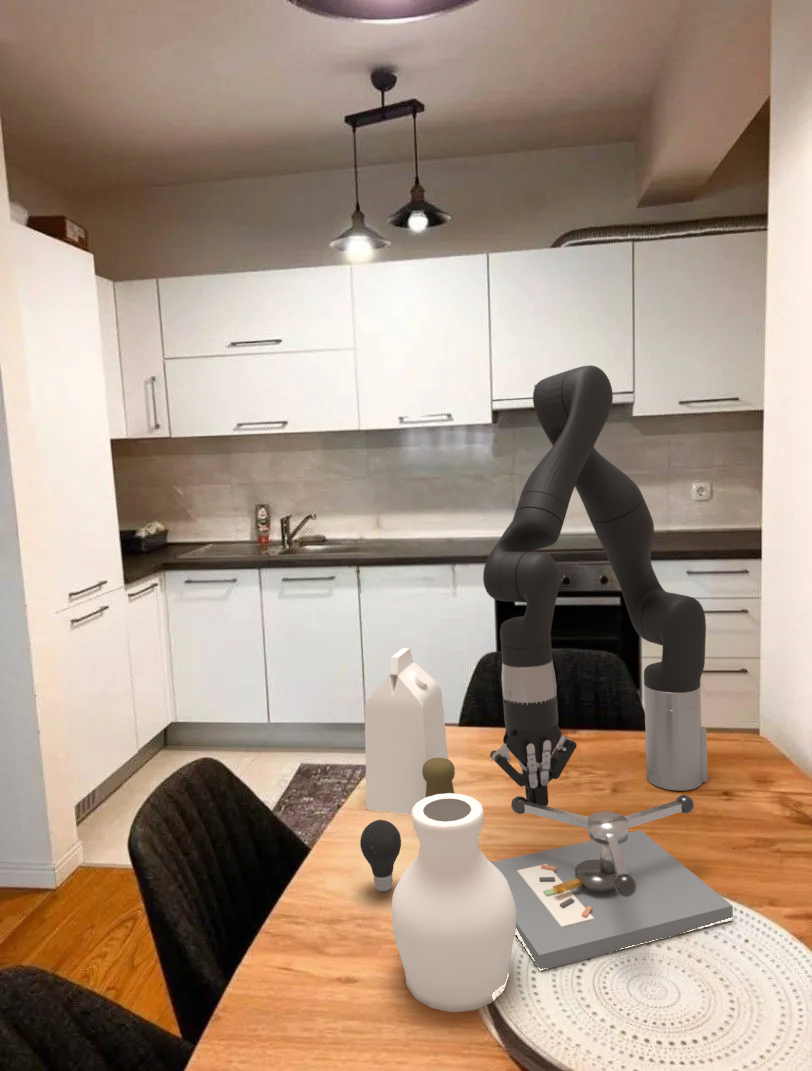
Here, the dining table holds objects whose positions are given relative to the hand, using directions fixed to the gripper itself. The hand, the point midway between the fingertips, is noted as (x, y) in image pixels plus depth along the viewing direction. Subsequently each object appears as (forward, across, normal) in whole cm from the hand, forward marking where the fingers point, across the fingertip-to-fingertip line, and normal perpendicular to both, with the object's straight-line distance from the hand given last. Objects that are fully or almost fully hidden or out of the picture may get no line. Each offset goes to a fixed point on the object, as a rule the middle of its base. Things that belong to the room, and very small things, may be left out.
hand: (537, 809), depth 107 cm
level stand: (+8, -3, +11) cm, 14 cm away
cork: (+8, +10, -16) cm, 20 cm away
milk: (+8, +12, -28) cm, 31 cm away
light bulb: (+8, +23, -2) cm, 24 cm away
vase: (+8, +19, +17) cm, 27 cm away
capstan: (+6, -8, +10) cm, 14 cm away
